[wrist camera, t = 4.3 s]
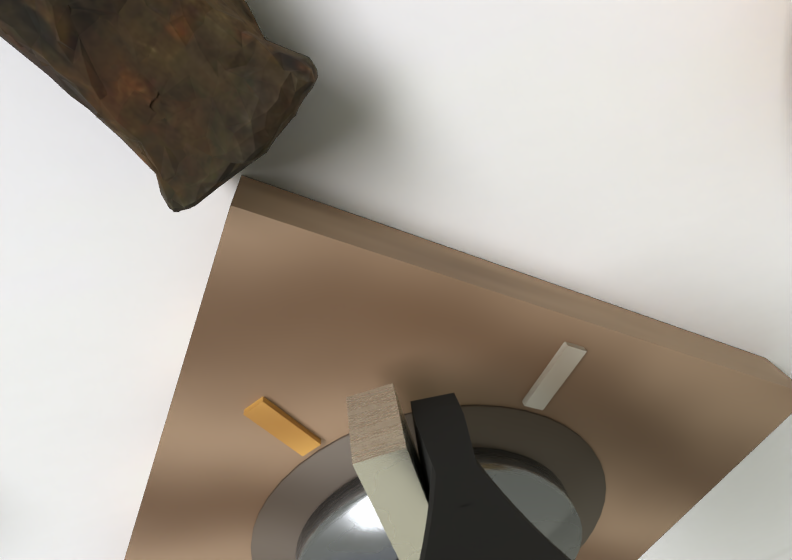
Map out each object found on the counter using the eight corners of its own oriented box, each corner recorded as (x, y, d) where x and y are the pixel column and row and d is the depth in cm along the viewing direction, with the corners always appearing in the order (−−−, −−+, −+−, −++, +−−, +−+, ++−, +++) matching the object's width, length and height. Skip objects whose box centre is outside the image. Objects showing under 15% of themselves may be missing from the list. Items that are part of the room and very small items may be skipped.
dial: (576, 571, 20) (615, 654, 18) (346, 640, 20) (352, 734, 18) (547, 308, 13) (605, 387, 10) (185, 419, 13) (154, 524, 10)
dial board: (506, 628, 27) (520, 675, 25) (111, 606, 20) (91, 668, 19) (765, 358, 19) (816, 399, 17) (241, 175, 12) (229, 209, 10)
